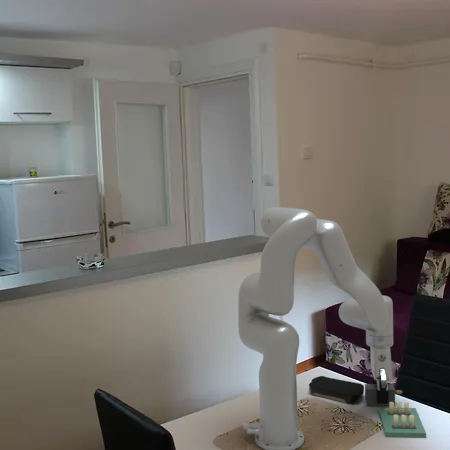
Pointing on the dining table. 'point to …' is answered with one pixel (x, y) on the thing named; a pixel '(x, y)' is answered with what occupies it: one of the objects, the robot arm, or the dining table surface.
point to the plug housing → (372, 394)
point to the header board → (401, 421)
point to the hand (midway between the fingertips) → (380, 396)
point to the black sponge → (336, 389)
